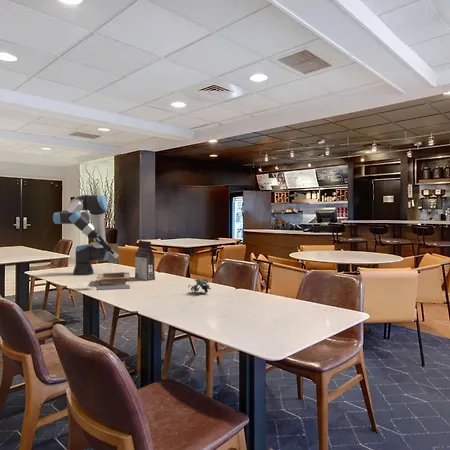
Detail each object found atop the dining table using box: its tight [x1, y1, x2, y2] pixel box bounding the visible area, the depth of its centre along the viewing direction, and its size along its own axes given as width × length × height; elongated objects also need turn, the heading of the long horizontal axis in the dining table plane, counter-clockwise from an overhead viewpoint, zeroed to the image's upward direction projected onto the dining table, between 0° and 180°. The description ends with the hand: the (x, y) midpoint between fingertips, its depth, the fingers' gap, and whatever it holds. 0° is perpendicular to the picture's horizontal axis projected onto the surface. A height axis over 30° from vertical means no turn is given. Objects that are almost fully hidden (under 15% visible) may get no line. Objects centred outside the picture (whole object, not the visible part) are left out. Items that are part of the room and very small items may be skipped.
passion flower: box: [187, 277, 211, 295], centre depth 225 cm, size 11×11×12 cm
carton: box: [96, 271, 131, 286], centre depth 259 cm, size 26×22×5 cm
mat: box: [96, 284, 131, 291], centre depth 240 cm, size 11×20×1 cm, turn 107°
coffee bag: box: [134, 240, 156, 282], centre depth 274 cm, size 16×9×28 cm, turn 46°
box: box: [107, 243, 119, 264], centre depth 241 cm, size 6×6×12 cm
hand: (117, 256), depth 242 cm, fingers closed on box, 6 cm apart
